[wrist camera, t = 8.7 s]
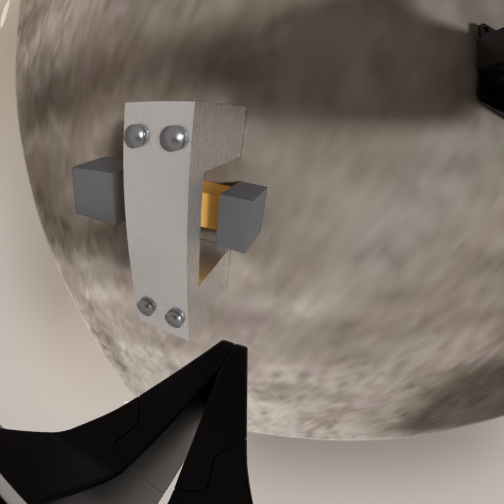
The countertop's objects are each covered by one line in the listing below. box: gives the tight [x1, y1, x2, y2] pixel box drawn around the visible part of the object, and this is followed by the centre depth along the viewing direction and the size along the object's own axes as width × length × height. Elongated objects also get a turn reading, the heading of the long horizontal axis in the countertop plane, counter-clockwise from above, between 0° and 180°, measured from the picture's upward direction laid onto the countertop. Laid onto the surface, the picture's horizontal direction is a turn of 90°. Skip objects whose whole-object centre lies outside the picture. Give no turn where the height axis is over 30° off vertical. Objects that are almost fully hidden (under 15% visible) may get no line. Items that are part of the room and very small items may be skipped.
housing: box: [123, 101, 247, 340], centre depth 17 cm, size 4×14×7 cm, turn 172°
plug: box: [72, 157, 267, 253], centre depth 19 cm, size 15×4×4 cm, turn 82°
